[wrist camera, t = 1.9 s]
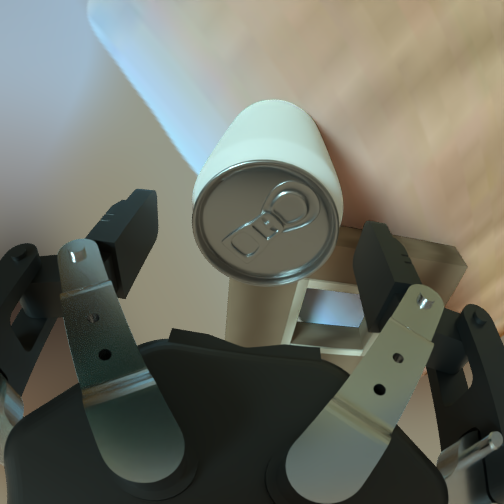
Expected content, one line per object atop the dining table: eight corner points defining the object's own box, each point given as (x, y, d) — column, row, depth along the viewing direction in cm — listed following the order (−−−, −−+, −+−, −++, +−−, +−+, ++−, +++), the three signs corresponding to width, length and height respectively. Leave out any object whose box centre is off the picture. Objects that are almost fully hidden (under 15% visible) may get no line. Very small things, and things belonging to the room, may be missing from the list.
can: (338, 145, 21) (382, 237, 12) (272, 198, 24) (263, 315, 15) (275, 79, 19) (266, 108, 9) (210, 141, 22) (149, 227, 12)
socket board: (455, 246, 25) (468, 268, 22) (386, 362, 36) (390, 383, 33) (238, 210, 25) (233, 232, 23) (226, 347, 36) (222, 370, 33)
